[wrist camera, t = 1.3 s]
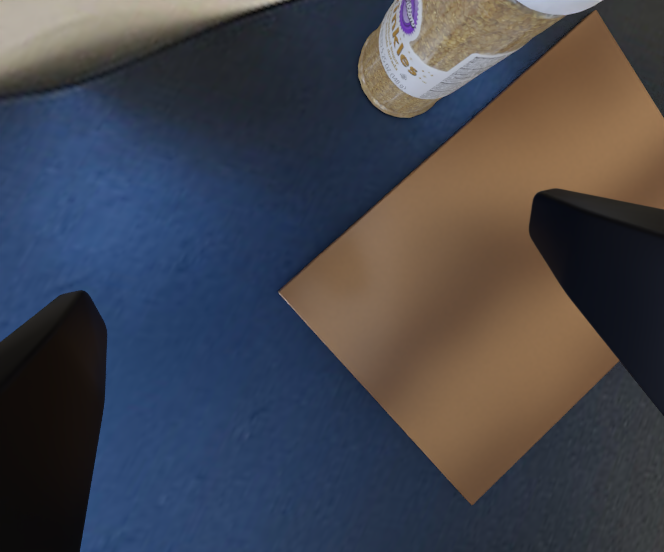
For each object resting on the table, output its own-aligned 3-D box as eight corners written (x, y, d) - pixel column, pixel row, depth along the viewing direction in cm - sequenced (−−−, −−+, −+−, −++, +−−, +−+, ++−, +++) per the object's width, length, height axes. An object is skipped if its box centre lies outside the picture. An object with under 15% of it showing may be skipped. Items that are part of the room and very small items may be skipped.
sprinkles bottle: (344, 38, 22) (491, -243, 9) (430, 15, 23) (683, -276, 10) (372, 132, 23) (545, -2, 10) (454, 107, 24) (721, -49, 10)
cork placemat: (732, 241, 28) (741, 241, 27) (467, 500, 26) (472, 505, 25) (589, 13, 24) (596, 9, 24) (277, 291, 23) (277, 292, 22)
